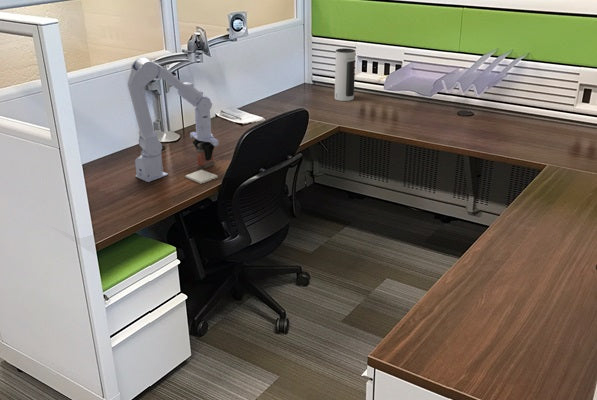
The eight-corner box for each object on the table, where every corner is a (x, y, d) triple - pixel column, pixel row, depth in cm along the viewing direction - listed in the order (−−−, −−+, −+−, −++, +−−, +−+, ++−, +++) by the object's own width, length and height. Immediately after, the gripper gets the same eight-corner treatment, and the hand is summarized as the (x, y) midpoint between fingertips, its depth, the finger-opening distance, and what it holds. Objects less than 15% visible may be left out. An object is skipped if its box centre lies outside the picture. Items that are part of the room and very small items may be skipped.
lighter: (210, 161, 251) (208, 137, 247) (216, 163, 249) (214, 139, 245) (195, 167, 245) (193, 143, 241) (201, 169, 243) (199, 145, 239)
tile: (201, 183, 231) (201, 181, 230) (185, 177, 236) (185, 175, 236) (217, 177, 236) (217, 175, 236) (201, 171, 242) (201, 169, 241)
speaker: (340, 102, 326) (342, 52, 315) (330, 97, 334) (331, 48, 323) (357, 99, 331) (359, 50, 320) (346, 94, 339) (348, 46, 328)
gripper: (223, 127, 238) (225, 160, 244) (198, 119, 247) (201, 151, 253) (209, 131, 234) (211, 165, 239) (184, 123, 242) (187, 156, 248)
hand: (205, 158), depth 246 cm, fingers closed on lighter, 3 cm apart
